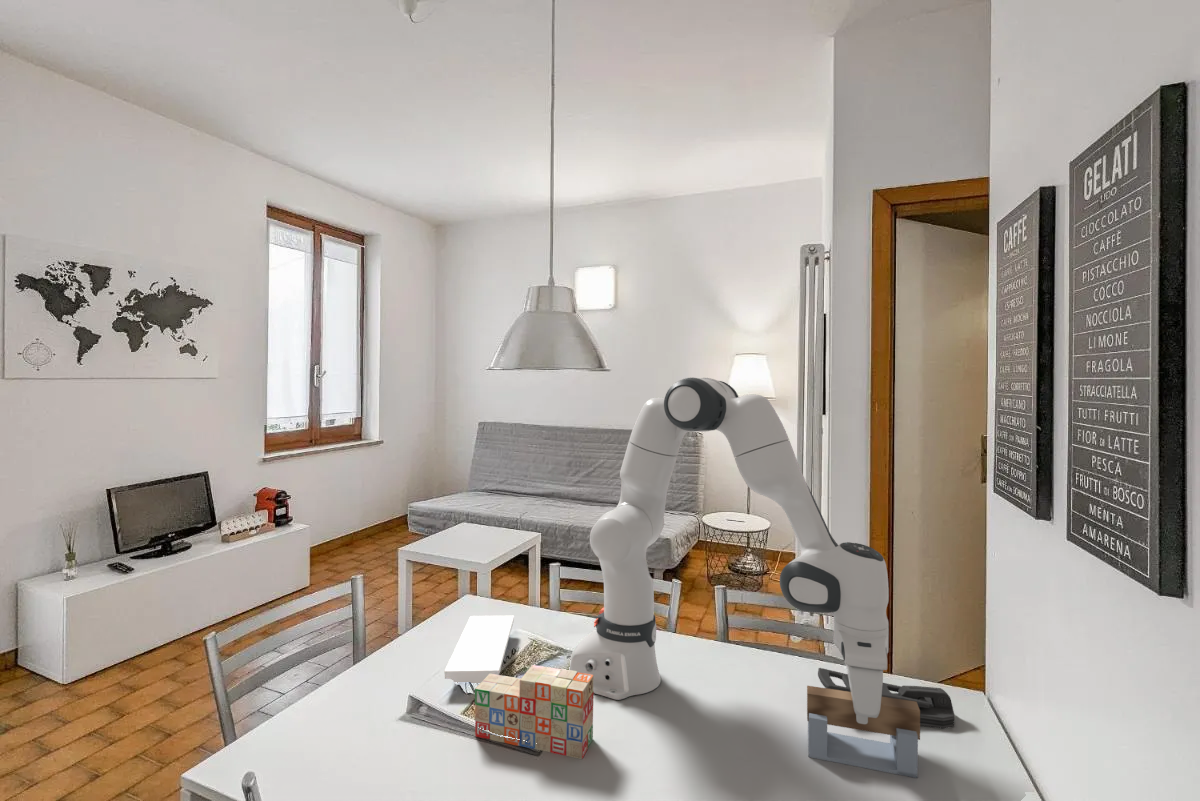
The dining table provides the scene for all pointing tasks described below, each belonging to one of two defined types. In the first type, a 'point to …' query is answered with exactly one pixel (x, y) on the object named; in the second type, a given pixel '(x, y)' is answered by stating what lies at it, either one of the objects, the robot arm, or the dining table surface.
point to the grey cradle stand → (864, 749)
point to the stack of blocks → (538, 710)
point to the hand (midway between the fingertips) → (860, 714)
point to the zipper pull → (929, 699)
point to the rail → (889, 718)
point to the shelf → (480, 649)
